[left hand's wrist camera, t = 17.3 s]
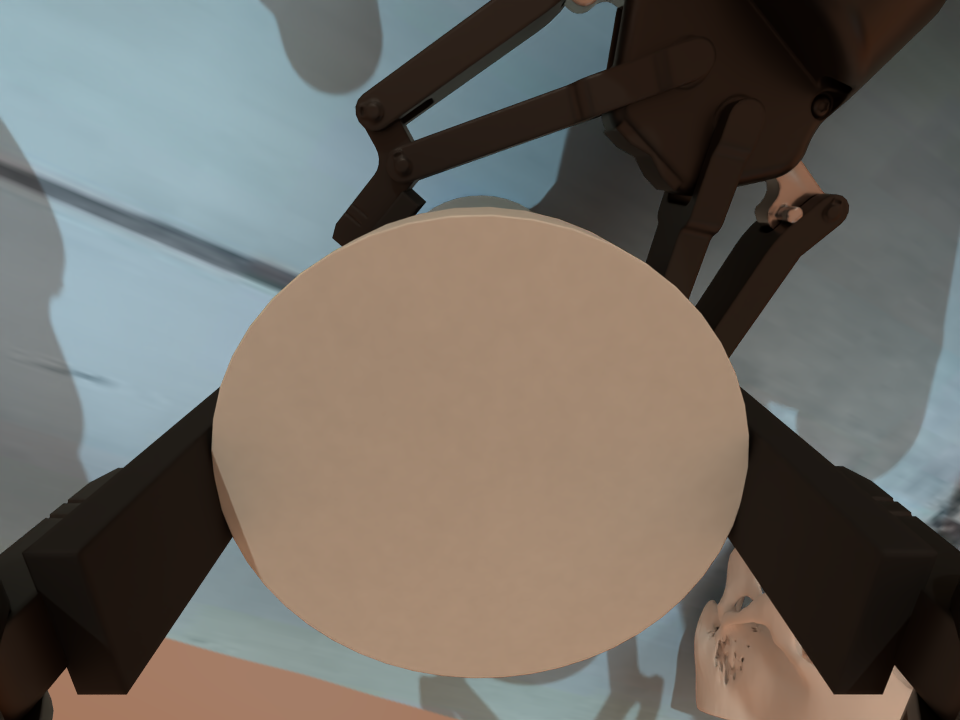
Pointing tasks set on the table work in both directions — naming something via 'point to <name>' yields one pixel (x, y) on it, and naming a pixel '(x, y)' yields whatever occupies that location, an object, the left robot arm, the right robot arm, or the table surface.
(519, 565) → the lid
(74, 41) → the table surface
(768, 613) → the skull bowl
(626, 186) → the table surface
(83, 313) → the table surface
